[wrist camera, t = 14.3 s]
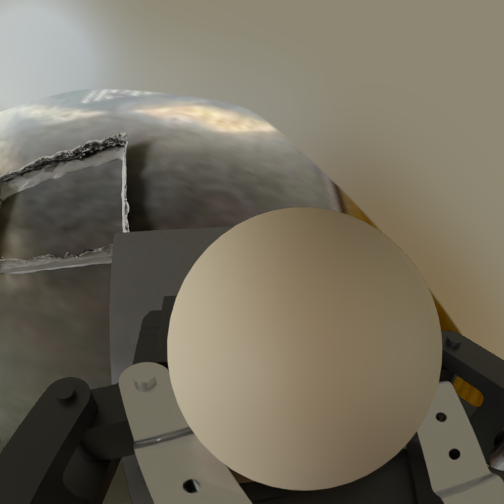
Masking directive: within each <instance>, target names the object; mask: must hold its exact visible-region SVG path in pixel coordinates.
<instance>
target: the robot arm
mask: <svg viewBox="0 0 504 504" xmlns="http://www.w3.org/2000/svg"><path fill="white" fill-rule="evenodd" d="M176 297H177V296H164V299H163V305H162V310H152V311H150V312H149V313H148V314H147V315H146V316H145V317H144V318H143V320H142V324H141V330H140V333H139V338H138V341H137V346H136V350H135V355H134V360H133V365H132V366H130V367H128V368H127V369H126V370H124V371H123V373H122V374H121V375H120V378H119V382H118V383H117V384H114V385H111V386H108V387H103V388H98V389H93V390H90V388H89V386H88V385H87V383H86V382H84V381H83V380H81V379H78V378H72V377H69V378H63V379H60V380H57V381H55V382H54V383H52V384H51V385H50V386H49V387H48V388H47V390H46V391H45V392H44V393H43V395H42V396H41V397H40V399H39V400H38V401H37V403H36V404H35V405H34V407H33V408H32V409H31V411H30V412H29V413H28V415H27V416H26V418H25V419H24V420H23V422H22V423H21V425H20V426H19V427H18V429H17V430H16V432H15V433H14V435H13V436H12V437H11V439H10V440H9V442H8V443H7V445H6V446H5V448H4V449H3V451H2V452H1V454H0V504H102V503H103V500H104V498H105V495H106V493H107V491H108V488H109V486H110V483H111V481H112V479H113V476H114V474H115V471H116V469H117V467H118V464H119V462H120V460H121V458H122V457H126V456H130V455H135V454H136V457H137V460H138V463H139V466H140V469H141V471H142V474H143V477H144V479H145V482H146V484H147V487H148V489H149V492H150V494H151V497H152V499H153V501H154V504H504V360H502V359H501V358H499V357H497V356H496V355H494V354H492V353H491V352H489V351H487V350H486V349H484V348H482V347H481V346H479V345H477V344H476V343H474V342H472V341H471V340H469V339H467V338H466V337H464V336H462V335H461V334H459V333H456V332H452V331H442V332H441V335H442V365H441V372H440V377H439V383H438V386H437V390H436V393H435V396H434V399H433V402H432V404H431V406H430V409H429V411H428V413H427V415H426V417H425V419H424V420H423V422H422V424H421V426H420V427H419V429H418V430H417V431H416V433H415V434H414V436H413V437H412V438H411V439H410V441H409V442H408V443H407V444H406V445H405V446H404V447H403V448H402V449H401V450H400V451H399V452H398V453H397V454H396V455H395V456H394V457H393V458H392V459H390V460H389V461H388V462H387V463H385V464H384V465H383V466H381V467H380V468H378V469H376V470H375V471H373V472H371V473H370V474H368V475H366V476H364V477H362V478H360V479H357V480H355V481H353V482H350V483H347V484H344V485H340V486H336V487H332V488H327V489H319V490H289V489H282V488H277V487H271V486H268V485H265V484H262V483H259V482H256V481H253V482H246V483H237V481H236V480H235V478H234V477H233V475H232V474H231V472H230V471H229V469H228V468H227V466H226V465H225V464H224V463H222V462H221V461H220V460H218V459H217V458H216V457H215V456H214V455H213V454H212V453H211V452H210V451H209V450H208V449H207V448H206V447H205V446H204V445H203V444H202V443H201V442H200V440H199V439H198V438H197V436H196V435H195V434H194V432H193V431H192V429H191V428H190V427H189V425H188V423H187V422H186V420H185V418H184V416H183V414H182V412H181V410H180V408H179V406H178V403H177V400H176V397H175V394H174V391H173V388H172V384H171V380H170V374H169V367H168V354H167V339H168V331H169V324H170V318H171V314H172V311H173V307H174V304H175V300H176ZM457 376H459V377H460V378H462V379H463V380H465V381H466V382H468V383H469V384H471V385H472V386H474V387H475V388H476V389H478V390H479V391H481V393H482V394H483V397H484V400H483V403H482V405H481V406H479V407H475V406H473V405H471V404H470V403H468V402H467V401H465V400H464V399H463V398H461V397H460V396H458V395H457V394H456V392H455V389H454V387H453V386H452V385H453V383H454V381H455V379H456V377H457ZM487 464H488V465H489V467H487Z"/></svg>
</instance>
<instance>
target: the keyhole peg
mask: <svg viewBox="0 0 504 504" xmlns="http://www.w3.org/2000/svg"><path fill="white" fill-rule="evenodd" d="M167 354H168V367H169V374H170V380H171V384H172V388H173V391H174V394H175V397H176V400H177V403H178V406H179V408H180V410H181V412H182V414H183V416H184V418H185V420H186V422H187V423H188V425H189V427H190V428H191V429H192V431H193V432H194V434H195V435H196V436H197V438H198V439H199V440H200V442H201V443H202V444H203V445H204V446H205V447H206V448H207V449H208V450H209V451H210V452H211V453H212V454H213V455H214V456H215V457H216V458H217V459H218V460H220V461H221V462H222V463H224V464H225V465H227V466H228V467H229V468H231V469H232V470H234V471H235V472H237V473H239V474H241V475H243V476H245V477H247V478H249V479H251V480H253V481H256V482H259V483H262V484H265V485H268V486H271V487H277V488H282V489H289V490H319V489H327V488H332V487H336V486H340V485H344V484H347V483H350V482H353V481H355V480H357V479H360V478H362V477H364V476H366V475H368V474H370V473H371V472H373V471H375V470H376V469H378V468H380V467H381V466H383V465H384V464H385V463H387V462H388V461H389V460H390V459H392V458H393V457H394V456H395V455H396V454H397V453H398V452H399V451H400V450H401V449H402V448H403V447H404V446H405V445H406V444H407V443H408V442H409V441H410V439H411V438H412V437H413V436H414V434H415V433H416V431H417V430H418V429H419V427H420V426H421V424H422V422H423V420H424V419H425V417H426V415H427V413H428V411H429V409H430V406H431V404H432V402H433V399H434V396H435V393H436V390H437V386H438V383H439V377H440V372H441V365H442V335H441V328H440V322H439V317H438V313H437V310H436V306H435V303H434V300H433V298H432V295H431V293H430V291H429V288H428V286H427V284H426V282H425V281H424V279H423V277H422V275H421V273H420V272H419V271H418V269H417V268H416V266H415V265H414V263H413V262H412V261H411V259H410V258H409V257H408V256H407V255H406V254H405V253H404V251H403V250H402V249H401V248H400V247H399V246H397V245H396V244H395V243H394V242H393V241H392V240H391V239H390V238H389V237H387V236H386V235H384V234H383V233H382V232H380V231H379V230H378V229H376V228H374V227H372V226H371V225H369V224H367V223H366V222H364V221H361V220H359V219H357V218H354V217H352V216H350V215H347V214H343V213H340V212H337V211H333V210H327V209H321V208H310V207H297V208H285V209H280V210H275V211H270V212H266V213H263V214H261V215H258V216H255V217H252V218H250V219H248V220H246V221H244V222H242V223H240V224H238V225H236V226H235V227H233V228H232V229H230V230H229V231H227V232H226V233H224V234H223V235H221V236H220V237H219V238H218V239H217V240H216V241H215V242H214V243H212V244H211V245H210V246H209V247H208V248H207V249H206V250H205V252H204V253H203V254H202V255H201V256H200V257H199V259H198V260H197V261H196V262H195V264H194V265H193V267H192V268H191V270H190V271H189V273H188V275H187V276H186V278H185V279H184V282H183V284H182V286H181V288H180V291H179V293H178V295H177V297H176V300H175V304H174V307H173V311H172V314H171V318H170V324H169V331H168V339H167Z"/></svg>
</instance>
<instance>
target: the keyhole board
mask: <svg viewBox="0 0 504 504" xmlns="http://www.w3.org/2000/svg"><path fill="white" fill-rule="evenodd" d="M233 227H235V226H233ZM233 227H210V228H190V229H171V230H154V231H138V232H123V233H114V240H113V251H112V264H111V281H110V317H109V326H110V362H111V378H112V385H114V384H117V383H118V382H119V378H120V375H121V374H122V373H123V371H124V370H126V369H127V368H128V367H130V366H132V365H133V360H134V355H135V350H136V346H137V341H138V338H139V333H140V330H141V324H142V320H143V318H144V317H145V316H146V315H147V314H148V313H149V312H150V311H152V310H162V305H163V299H164V296H177V295H178V293H179V291H180V288H181V286H182V284H183V282H184V279H185V278H186V276H187V275H188V273H189V271H190V270H191V268H192V267H193V265H194V264H195V262H196V261H197V260H198V259H199V257H200V256H201V255H202V254H203V253H204V252H205V250H206V249H207V248H208V247H209V246H210V245H211V244H212V243H214V242H215V241H216V240H217V239H218V238H219V237H220V236H221V235H223V234H224V233H226V232H227V231H229V230H230V229H232V228H233ZM122 462H123V467H124V472H125V477H126V481H127V485H128V490H129V494H130V498H131V501H132V504H154V501H153V499H152V497H151V494H150V492H149V489H148V487H147V484H146V482H145V479H144V477H143V474H142V471H141V469H140V466H139V463H138V460H137V457H136V454H135V455H130V456H126V457H122ZM226 466H227V465H226ZM227 468H228V469H229V471H230V472H231V474H232V475H233V477H234V478H235V480H236V481H237V483H246V482H253V480H251V479H249V478H247V477H245V476H243V475H241V474H239V473H237V472H235V471H234V470H232V469H231V468H229V467H228V466H227Z"/></svg>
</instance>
